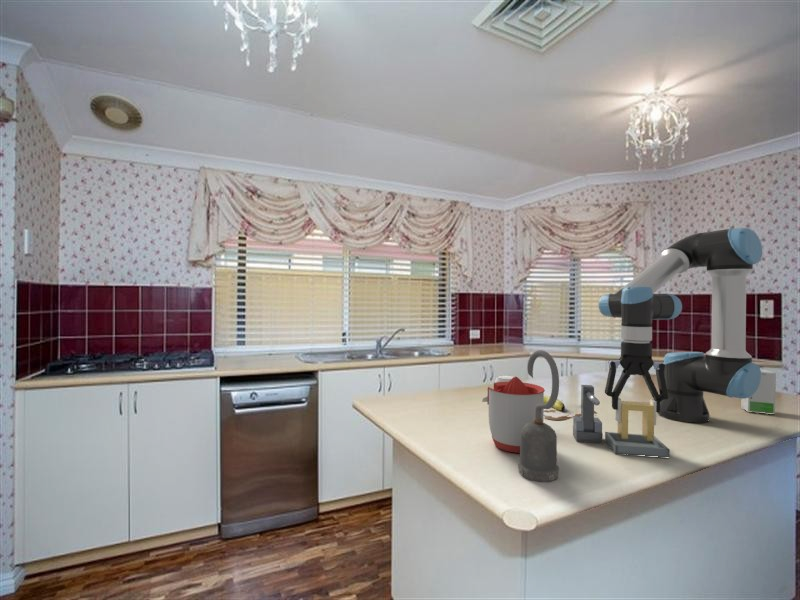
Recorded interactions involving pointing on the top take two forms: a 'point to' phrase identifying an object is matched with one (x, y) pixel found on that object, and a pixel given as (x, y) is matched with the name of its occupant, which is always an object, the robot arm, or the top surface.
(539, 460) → the hook
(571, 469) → the top surface
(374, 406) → the top surface
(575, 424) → the grey faucet post
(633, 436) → the tray
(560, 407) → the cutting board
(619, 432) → the wooden arch block
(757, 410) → the skincare box
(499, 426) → the citrus juicer
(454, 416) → the top surface
